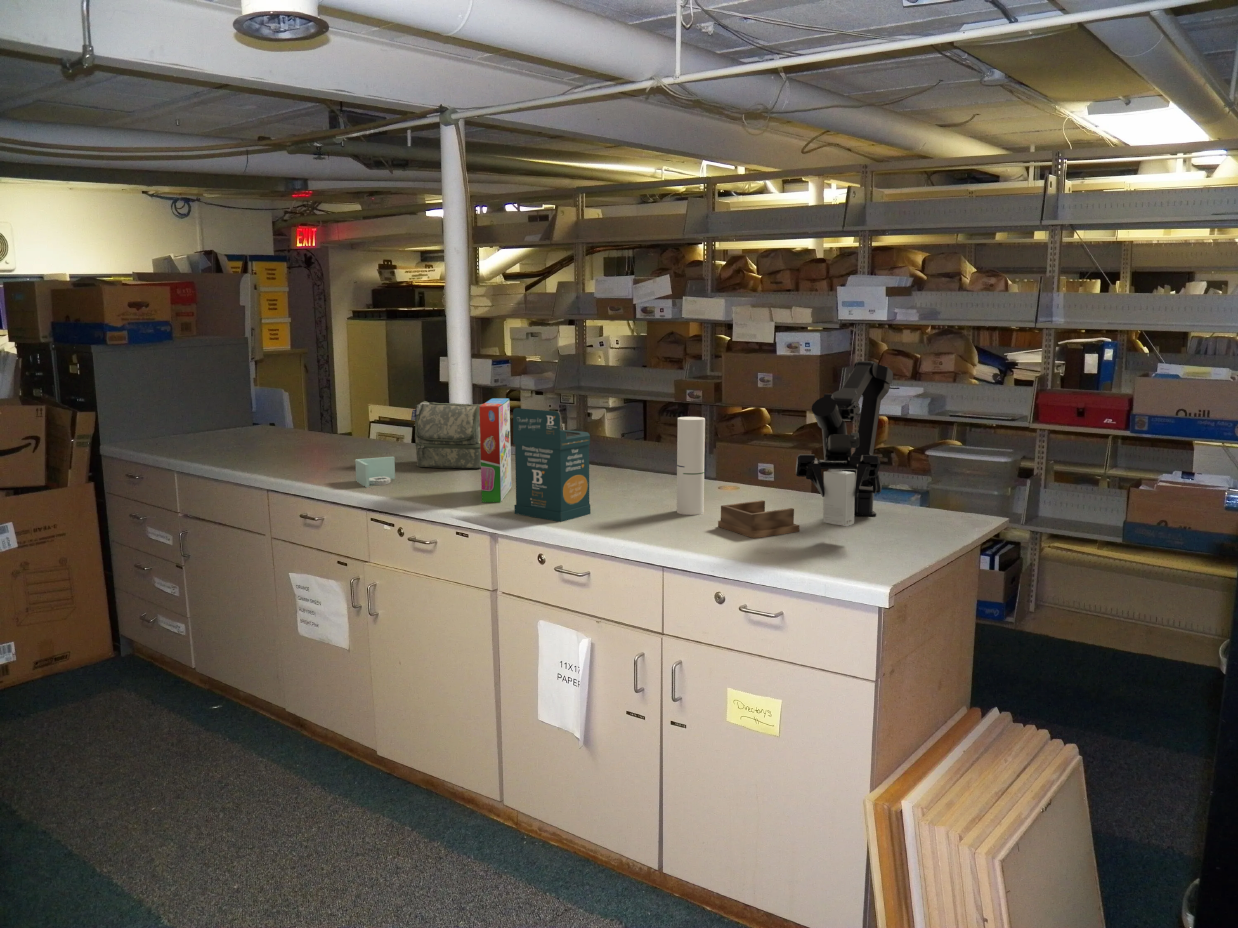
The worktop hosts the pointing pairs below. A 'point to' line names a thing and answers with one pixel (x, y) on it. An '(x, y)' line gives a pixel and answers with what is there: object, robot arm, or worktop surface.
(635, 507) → the worktop surface
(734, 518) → the box
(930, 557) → the worktop surface
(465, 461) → the lunch bag
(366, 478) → the l-shaped corner panel
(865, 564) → the worktop surface
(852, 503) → the skincare box
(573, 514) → the donation box
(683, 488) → the cylindrical container
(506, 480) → the game box
